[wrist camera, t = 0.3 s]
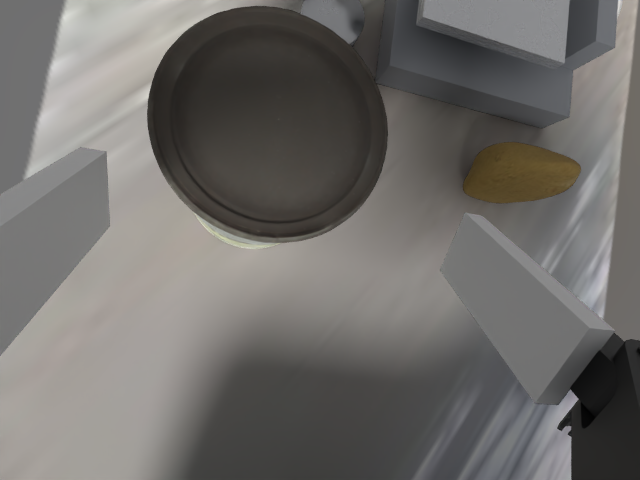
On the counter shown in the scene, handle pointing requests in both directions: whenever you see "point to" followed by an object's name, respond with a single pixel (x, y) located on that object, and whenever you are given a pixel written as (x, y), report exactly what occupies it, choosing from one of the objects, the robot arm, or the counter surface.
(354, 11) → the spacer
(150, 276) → the counter surface
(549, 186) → the potato
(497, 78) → the scale base
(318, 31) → the coffee can
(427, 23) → the platform
